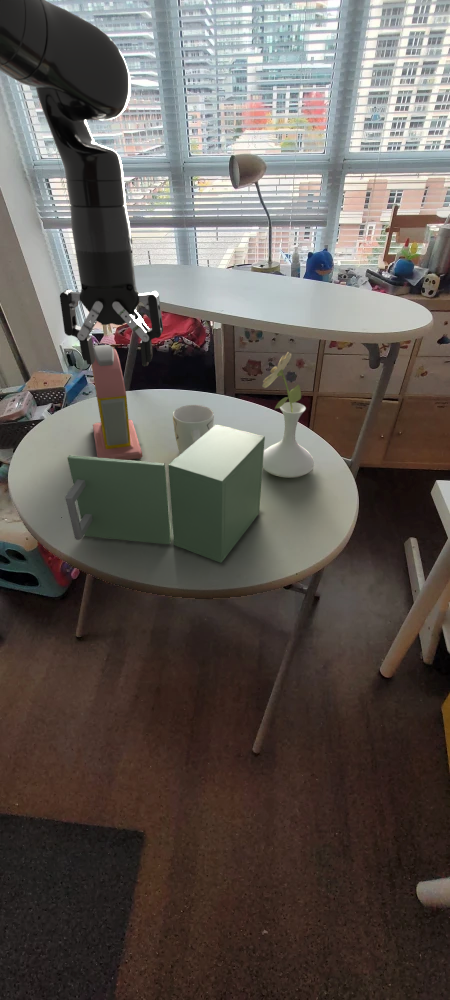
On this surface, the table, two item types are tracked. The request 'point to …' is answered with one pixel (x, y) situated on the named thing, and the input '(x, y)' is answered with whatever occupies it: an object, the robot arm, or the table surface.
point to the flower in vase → (287, 433)
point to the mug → (191, 424)
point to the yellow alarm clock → (112, 409)
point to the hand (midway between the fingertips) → (118, 363)
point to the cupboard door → (119, 499)
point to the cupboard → (216, 490)
